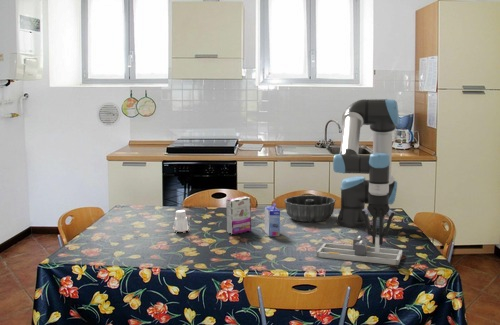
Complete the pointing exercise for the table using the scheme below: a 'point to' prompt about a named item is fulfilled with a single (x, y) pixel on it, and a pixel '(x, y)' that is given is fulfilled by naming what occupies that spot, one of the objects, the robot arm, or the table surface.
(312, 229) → the table surface
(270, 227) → the ink cartridge box
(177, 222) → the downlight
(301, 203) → the bundt pan
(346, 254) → the tray
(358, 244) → the tab
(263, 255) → the table surface
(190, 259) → the table surface
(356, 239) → the tab
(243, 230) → the candy bar box
